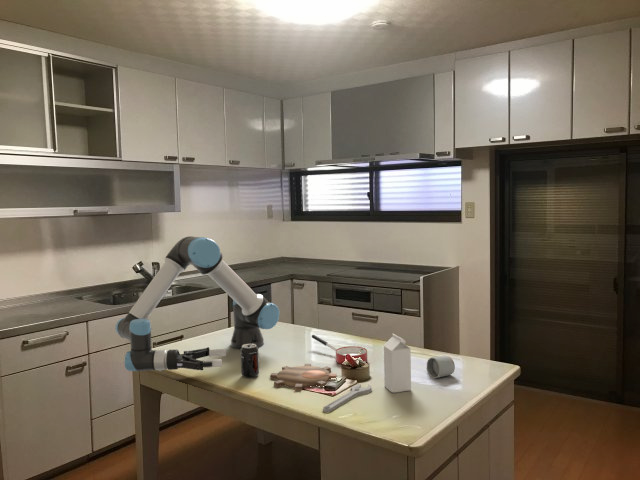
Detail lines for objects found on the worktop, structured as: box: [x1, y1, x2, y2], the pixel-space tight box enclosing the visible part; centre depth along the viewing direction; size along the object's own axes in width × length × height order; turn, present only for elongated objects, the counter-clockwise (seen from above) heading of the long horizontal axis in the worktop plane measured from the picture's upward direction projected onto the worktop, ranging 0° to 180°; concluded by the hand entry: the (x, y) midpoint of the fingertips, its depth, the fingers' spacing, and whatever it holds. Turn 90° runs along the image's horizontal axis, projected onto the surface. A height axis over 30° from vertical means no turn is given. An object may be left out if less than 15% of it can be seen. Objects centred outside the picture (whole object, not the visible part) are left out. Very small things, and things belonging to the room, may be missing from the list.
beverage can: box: [240, 344, 260, 379], centre depth 203 cm, size 7×7×12 cm
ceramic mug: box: [426, 355, 456, 379], centre depth 198 cm, size 11×8×8 cm
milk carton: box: [383, 333, 412, 394], centre depth 185 cm, size 7×7×19 cm
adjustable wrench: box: [322, 383, 372, 413], centre depth 178 cm, size 25×6×2 cm, turn 138°
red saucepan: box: [311, 334, 368, 365], centre depth 224 cm, size 32×13×6 cm, turn 45°
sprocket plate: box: [269, 363, 338, 392], centre depth 199 cm, size 25×25×2 cm
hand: (223, 357), depth 202 cm, fingers open, 13 cm apart
